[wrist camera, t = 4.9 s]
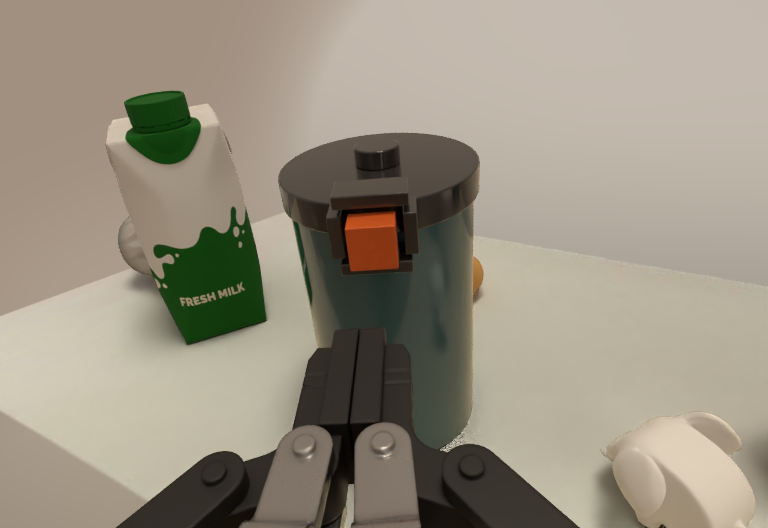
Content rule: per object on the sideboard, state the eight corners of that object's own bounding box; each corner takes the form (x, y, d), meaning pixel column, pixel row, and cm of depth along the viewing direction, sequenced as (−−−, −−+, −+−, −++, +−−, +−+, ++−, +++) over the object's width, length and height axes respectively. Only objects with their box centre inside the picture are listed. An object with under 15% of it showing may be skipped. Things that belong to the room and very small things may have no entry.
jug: (339, 330, 43) (301, 110, 33) (463, 324, 42) (462, 97, 32) (313, 487, 30) (240, 203, 20) (491, 482, 29) (502, 185, 20)
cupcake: (170, 297, 55) (247, 283, 52) (98, 276, 47) (185, 258, 44) (176, 219, 58) (249, 202, 55) (109, 186, 50) (191, 164, 47)
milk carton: (177, 355, 42) (81, 116, 32) (172, 300, 49) (93, 92, 39) (279, 323, 44) (221, 92, 34) (260, 275, 52) (208, 74, 41)
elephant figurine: (643, 438, 31) (663, 367, 28) (785, 548, 25) (830, 472, 22) (563, 491, 28) (575, 419, 25) (699, 628, 22) (736, 555, 19)
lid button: (353, 254, 22) (347, 213, 21) (398, 252, 22) (395, 210, 21) (350, 271, 21) (344, 228, 20) (398, 269, 20) (394, 225, 19)
